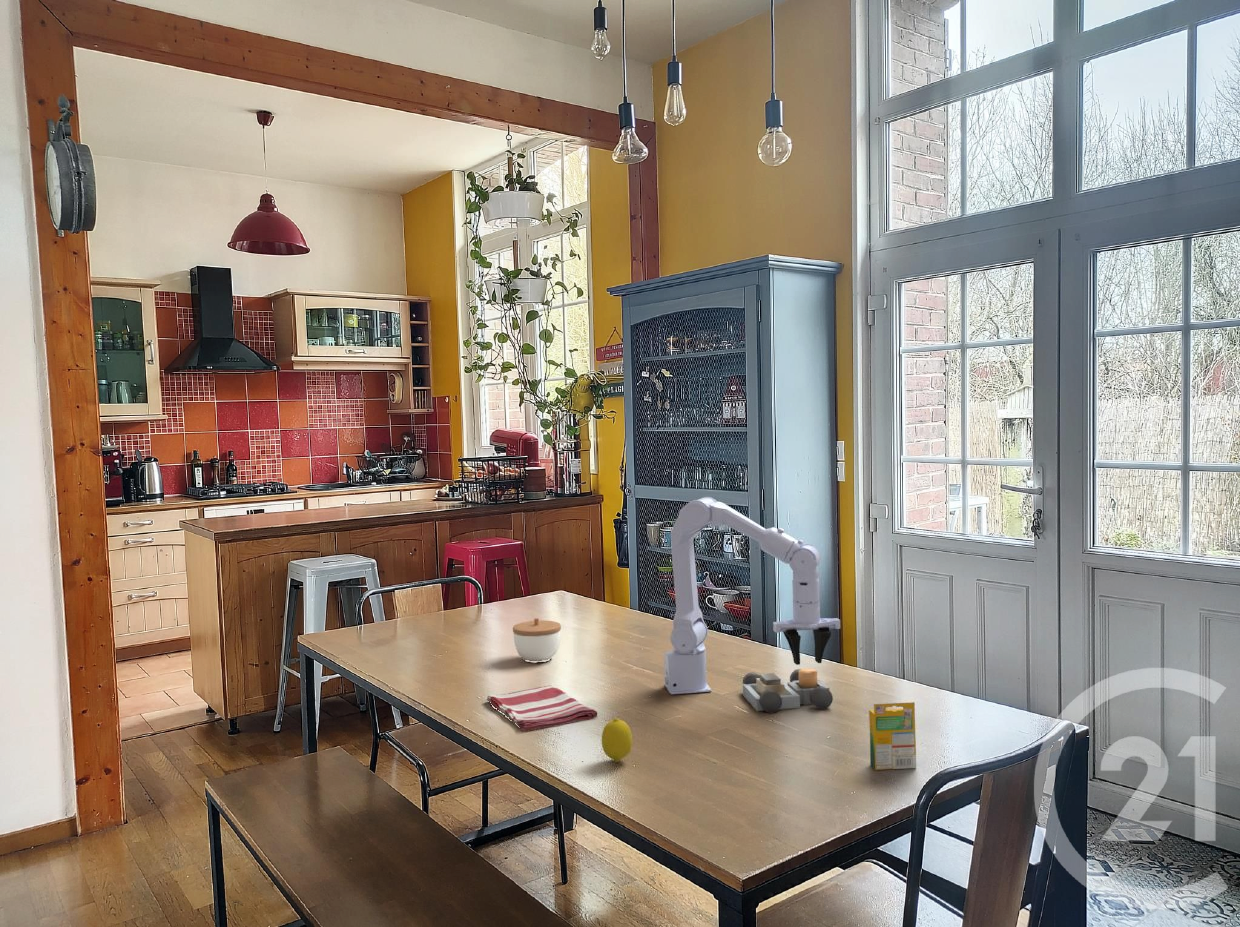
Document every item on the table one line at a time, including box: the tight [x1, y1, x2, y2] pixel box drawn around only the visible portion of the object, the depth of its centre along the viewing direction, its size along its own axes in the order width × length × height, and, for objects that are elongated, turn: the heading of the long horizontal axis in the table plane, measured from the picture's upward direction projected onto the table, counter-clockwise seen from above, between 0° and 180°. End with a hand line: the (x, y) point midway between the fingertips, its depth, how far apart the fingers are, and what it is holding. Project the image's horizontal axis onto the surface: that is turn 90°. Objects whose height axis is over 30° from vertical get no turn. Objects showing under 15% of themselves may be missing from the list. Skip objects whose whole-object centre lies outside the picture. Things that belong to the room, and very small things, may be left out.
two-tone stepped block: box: [756, 672, 785, 696], centre depth 189 cm, size 4×6×6 cm
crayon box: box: [868, 701, 917, 771], centre depth 151 cm, size 7×3×12 cm, turn 92°
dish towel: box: [486, 684, 598, 732], centre depth 189 cm, size 17×23×3 cm
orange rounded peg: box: [799, 668, 818, 689], centre depth 190 cm, size 4×4×4 cm
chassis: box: [742, 668, 834, 714], centre depth 189 cm, size 17×15×4 cm
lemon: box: [601, 717, 633, 763], centre depth 157 cm, size 6×6×8 cm
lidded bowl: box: [512, 617, 562, 661], centre depth 229 cm, size 13×13×11 cm
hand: (807, 662), depth 190 cm, fingers open, 4 cm apart
